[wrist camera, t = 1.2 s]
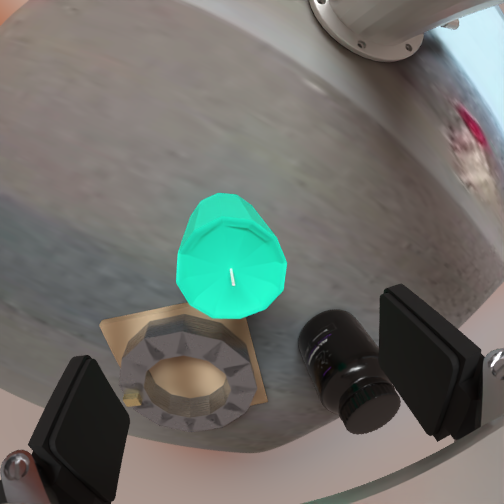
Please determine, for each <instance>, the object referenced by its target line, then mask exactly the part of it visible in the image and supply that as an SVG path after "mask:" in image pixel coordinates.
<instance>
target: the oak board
mask: <svg viewBox="0 0 504 504" xmlns="http://www.w3.org/2000/svg"><path fill="white" fill-rule="evenodd" d="M182 314H187V315H191V316H195V317H199V318H203V319H207V320H212V321H216V322H220V323H222V324H223V325H224V326H225V327H227V328H228V329H229V330H230V331H231V332H233V333H234V334H235V335H236V336H237V337H238V338H240V339H241V340H242V341H243V342H244V343H246V345H247V349H248V353H249V356H250V360H251V363H252V367H253V370H254V375H255V380H256V384H257V391H256V393H255V395H254V397H253V399H252V401H251V404H250V406H251V405H256V404H260V403H264V402H268V400H267V396H266V392H265V388H264V385H263V381H262V377H261V373H260V370H259V366H258V362H257V358H256V354H255V351H254V347H253V343H252V339H251V335H250V331H249V327H248V323H247V319H246V317H244V318H241V319H213V318H211V317H209V316H208V315H206V314H204V313H202V312H201V311H199V310H197V309H195V308H194V307H192V306H190V305H189V303H188V302H186V303H182V304H177V305H173V306H168V307H163V308H159V309H154V310H149V311H144V312H140V313H135V314H130V315H125V316H120V317H115V318H110V319H105V320H102V321H101V323H100V325H99V326H100V328H101V330H102V332H103V334H104V336H105V338H106V340H107V343H108V345H109V347H110V349H111V351H112V353H113V355H114V357H115V358H116V360H117V362H118V364H119V366H120V368H121V361H122V360H121V359H122V357H123V354H124V351H125V349H126V346H127V344H128V341H129V340H130V339H131V338H132V337H134V336H135V335H136V334H137V333H138V332H139V331H140V330H141V329H142V328H143V327H144V326H145V325H146V324H147V323H148V322H149V321H153V320H158V319H163V318H167V317H172V316H177V315H182ZM149 371H150V373H151V375H152V377H153V379H154V381H155V383H156V384H157V385H159V386H160V387H161V388H163V389H164V390H166V391H167V392H169V393H170V394H173V395H177V396H182V397H187V398H195V397H201V396H207V395H210V394H211V393H213V392H214V391H216V390H217V389H219V388H220V387H221V386H223V385H224V382H225V379H226V375H225V373H223V372H222V371H221V370H219V369H218V368H217V367H215V366H214V365H213V364H211V363H210V362H209V361H206V360H202V359H197V358H193V357H188V356H184V355H183V356H178V357H173V358H167V359H161V360H160V361H158V362H157V363H156V364H155V365H154V366H152V367H151V368H150V369H149Z"/></svg>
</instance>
